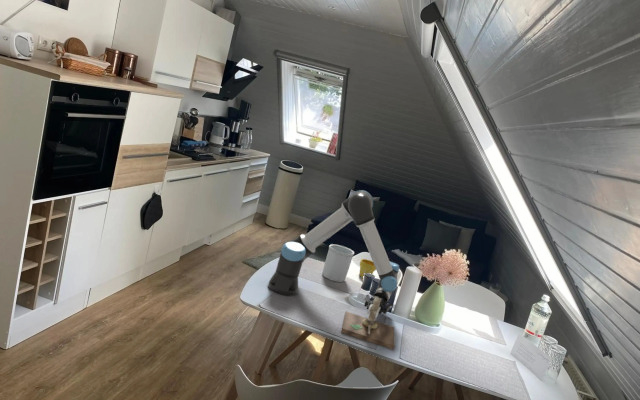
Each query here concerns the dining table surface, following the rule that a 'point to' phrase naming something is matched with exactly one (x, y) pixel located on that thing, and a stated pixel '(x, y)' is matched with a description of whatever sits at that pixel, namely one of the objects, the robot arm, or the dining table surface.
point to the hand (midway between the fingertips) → (372, 312)
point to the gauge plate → (355, 328)
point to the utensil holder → (337, 262)
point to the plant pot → (366, 267)
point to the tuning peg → (372, 315)
